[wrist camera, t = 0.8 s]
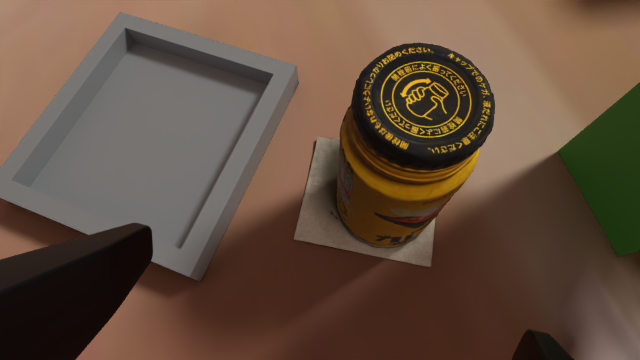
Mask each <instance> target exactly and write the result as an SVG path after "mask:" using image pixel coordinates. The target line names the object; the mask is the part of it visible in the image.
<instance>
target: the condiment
mask: <svg viewBox="0 0 640 360" xmlns="http://www.w3.org/2000/svg"><path fill="white" fill-rule="evenodd" d="M494 114H495V100H494V94H493V93H492V92H491V89H490V85H489V83H488V81H487V79H486V78H485V76H484V75H483V74H482V73H481V72H480V71H479V69H478V68H477V67H475V66H474V64H473V63H472V62H471V61H470V60H468V59H467V58H465V57H464V56H462V55H460V54H458V53H457V52H454V51H451V50H449V49H447V48H444V47H441V46H438V45H433V44H424V43H412V44H402V45H400V46H396V47H393V48H391V49H390V50H388V51H386V52H385V53H383V54H382V55H380V56H379V57H377V58H376V59H374V60H373V61H372V62H370V64H369V65H368V66H367V67H366V68H365V69H364V70H363V71H362V72H361V74H360V76H359V78H358V79H357V81H356V85H355V88H354V90H353V97H352V102H351V105H350V107H349V108H348V110H347V111H346V114H345V116H344V119H343V122H342V125H341V129H340V141H338V140H334V139H328V138H322V137H318V139H317V143H316V148H315V152H314V156H313V161H312V165H311V169H310V173H309V178H308V182H307V186H306V190H305V196H304V198H303V202H302V206H301V210H300V215H299V219H298V223H297V227H296V231H295V235H294V239H295V240H300V241H305V242H310V243H314V244H319V245H325V246H330V247H335V248H340V249H344V250H349V251H354V252H358V253H363V254H367V255H372V256H377V257H382V258H387V259H392V260H396V261H401V262H407V263H411V264H416V265H422V266H428V267H431V260H432V250H433V240H434V228H435V218H436V217H437V215H438V213H439V212H440V210H441V209H442V208H443V207H444V206H445V205H446V203H447V202H448V201H449V200H450V199H451V197H452V196H453V195H454V194H455V193H456V192H457V191H458V190H459V189H460V188H461V186H462V185H463V184H464V182H465V181H466V180H467V178H468V177H469V175H470V174H471V173H472V171H473V169H474V167H475V165H476V162H477V158H478V154H479V151H480V147H481V146H482V145H483V143H484V142H485V141H486V138H487V136H488V135H489V134H490V132H491V131H492V127H493V125H494V124H493V122H494ZM330 211H332V212H333V213H334V215H331V214H330ZM335 216H337V217H338V220H336V219H335Z"/></svg>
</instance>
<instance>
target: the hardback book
mask: <svg viewBox="0 0 640 360" xmlns="http://www.w3.org/2000/svg"><path fill="white" fill-rule="evenodd" d="M558 152H559V154H560V156H561V157H562V159H563V161H564V163H565V164H566V166H567V168H568V170H569V171H570V173H571V175H572V177H573V178H574V180H575V182H576V184H577V185H578V187H579V189H580V191H581V192H582V194H583V196H584V198H585V199H586V201H587V203H588V205H589V206H590V208H591V210H592V212H593V213H594V215H595V217H596V219H597V220H598V222H599V224H600V226H601V227H602V229H603V231H604V232H605V234H606V236H607V238H608V239H609V241H610V243H611V245H612V246H613V248H614V250H615V252H616V253H617V255H618V257H620V256H623V255H627V254H630V253H633V252H637V251H640V83H638V84H637V85H636V86H635V87H634V88H632V89H631V90H630V91H629V92H628V93H626V94H625V95H624V96H623V97H622V98H621V99H619V100H618V101H617V102H616V103H615V104H613V105H612V106H611V107H610V108H609V109H607V110H606V111H605V112H604V113H603V114H601V115H600V116H599V117H598V118H597V119H596V120H594V121H593V122H592V123H591V124H590V125H588V126H587V127H586V128H585V129H584V130H582V131H581V132H580V133H579V134H578V135H576V136H575V137H574V138H573V139H572V140H571V141H569V142H568V143H567V144H566V145H565V146H563V147H562V148H561V149H560V150H559V151H558Z"/></svg>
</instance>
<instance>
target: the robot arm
mask: <svg viewBox="0 0 640 360" xmlns="http://www.w3.org/2000/svg"><path fill="white" fill-rule="evenodd" d="M152 257H153V239H152V229H151V228H150V227H149V226H148V225H144V224H140V223H130V224H126V225H123V226H119V227H115V228H112V229H108V230H105V231H101V232H98V233H94V234H90V235H87V236H83V237H80V238H76V239H73V240H69V241H65V242H62V243H58V244H55V245H51V246H47V247H44V248H40V249H37V250H33V251H30V252H26V253H22V254H19V255H15V256H12V257H8V258H4V259H1V260H0V360H76V358H77V357H78V356H79V355H80V354H81V353H82V351H83V350H84V349H85V348H86V347H87V345H88V344H89V343H90V342H91V341H92V340H93V338H94V337H95V336H96V335H97V334H98V333H99V331H100V330H101V329H102V328H103V327H104V325H105V324H106V323H107V322H108V321H109V320H110V318H111V317H112V316H113V315H114V313H115V312H116V311H117V309H118V308H119V307H120V305H121V304H122V303H123V301H124V300H125V298H126V297H127V295H128V294H129V292H130V291H131V290H132V288H133V287H134V285H135V284H136V282H137V281H138V279H139V278H140V277H141V275H142V274H143V272H144V271H145V269H146V268H147V266H148V265H149V264H150V262H151V260H152ZM512 360H574V359H573V358H572V357H571V356H570V355H569V354H568V353H567V352H566V351H565V350H564V349H563V348H562V347H561V346H560V345H559V344H558V343H557V342H556V340H555V339H554V338H553V337H552V336H550V335H549V334H547V333H544V332H541V331H537V330H533V329H528V330H527V331H525V333H524V335H523V337H522V339H521V341H520V343H519V344H518V346H517V348H516V350H515V352H514V355H513V358H512Z"/></svg>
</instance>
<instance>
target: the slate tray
mask: <svg viewBox="0 0 640 360" xmlns="http://www.w3.org/2000/svg"><path fill="white" fill-rule="evenodd" d="M298 84H299V81H298V73H297V66H296V65H293V64H290V63H286V62H283V61H280V60H277V59H273V58H270V57H267V56H263V55H260V54H257V53H254V52H250V51H247V50H244V49H240V48H237V47H234V46H231V45H227V44H224V43H221V42H217V41H214V40H211V39H208V38H204V37H201V36H198V35H194V34H191V33H188V32H185V31H181V30H178V29H175V28H172V27H168V26H165V25H162V24H158V23H155V22H152V21H149V20H145V19H142V18H139V17H135V16H132V15H129V14H126V13H122V12H119V14H118V15H117V16H116V18H115V19H114V20H113V22H112V23H111V24H110V25H109V27H108V28H107V29H106V31H105V32H104V33H103V35H102V36H101V37H100V39H99V40H98V41H97V42H96V44H95V45H94V46H93V48H92V49H91V50H90V52H89V53H88V54H87V55H86V57H85V58H84V59H83V61H82V62H81V63H80V65H79V66H78V67H77V68H76V70H75V71H74V72H73V74H72V75H71V76H70V78H69V79H68V80H67V81H66V83H65V84H64V85H63V87H62V88H61V89H60V91H59V92H58V93H57V94H56V96H55V97H54V98H53V100H52V101H51V102H50V104H49V105H48V106H47V108H46V109H45V110H44V111H43V113H42V114H41V115H40V117H39V118H38V119H37V121H36V122H35V123H34V124H33V126H32V127H31V128H30V130H29V131H28V132H27V134H26V135H25V136H24V137H23V139H22V140H21V141H20V143H19V144H18V145H17V147H16V148H15V149H14V150H13V152H12V153H11V154H10V156H9V157H8V158H7V160H6V161H5V162H4V164H3V165H2V166H1V167H0V198H1V199H3V200H6V201H8V202H10V203H13V204H15V205H17V206H20V207H22V208H25V209H27V210H29V211H32V212H34V213H37V214H39V215H41V216H44V217H46V218H48V219H51V220H53V221H56V222H58V223H60V224H63V225H65V226H68V227H70V228H72V229H75V230H77V231H79V232H82V233H84V234H87V235H90V234H94V233H98V232H101V231H105V230H108V229H112V228H115V227H119V226H123V225H126V224H130V223H140V224H144V225H148V226H149V227H150V228H151V229H152V239H153V257H152V260H151V262H153V263H156V264H158V265H161V266H163V267H165V268H168V269H170V270H172V271H175V272H177V273H180V274H182V275H184V276H187V277H189V278H192V279H194V280H196V281H199V282H201V280H202V278H203V276H204V274H205V272H206V270H207V268H208V266H209V264H210V262H211V260H212V258H213V256H214V254H215V252H216V250H217V248H218V246H219V244H220V242H221V239H222V237H223V235H224V233H225V231H226V229H227V227H228V225H229V223H230V221H231V219H232V217H233V215H234V213H235V211H236V209H237V207H238V205H239V203H240V201H241V199H242V197H243V195H244V193H245V191H246V189H247V187H248V185H249V183H250V181H251V179H252V177H253V175H254V173H255V171H256V169H257V167H258V165H259V163H260V161H261V159H262V157H263V155H264V153H265V151H266V149H267V147H268V144H269V142H270V140H271V138H272V136H273V134H274V132H275V130H276V128H277V126H278V124H279V122H280V120H281V118H282V116H283V114H284V112H285V110H286V108H287V106H288V104H289V102H290V100H291V98H292V96H293V94H294V92H295V90H296V88H297V86H298Z"/></svg>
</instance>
